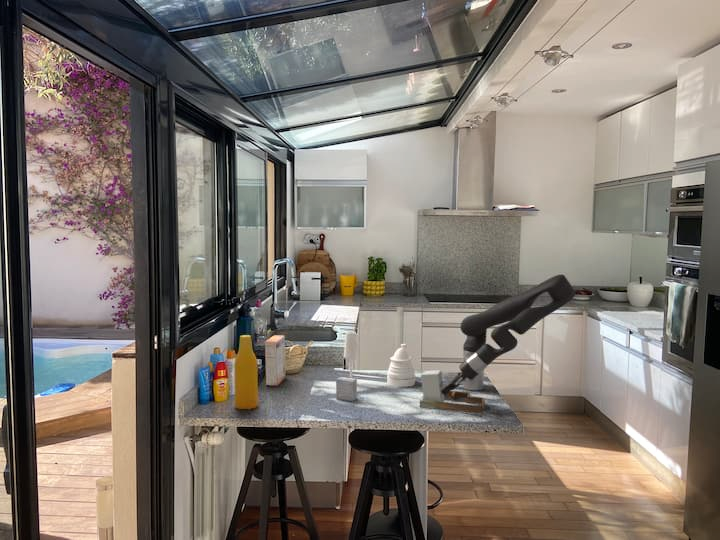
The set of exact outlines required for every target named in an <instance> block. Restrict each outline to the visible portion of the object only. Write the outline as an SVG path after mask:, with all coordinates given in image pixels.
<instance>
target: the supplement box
mask: <svg viewBox="0 0 720 540" xmlns="http://www.w3.org/2000/svg"><path fill="white" fill-rule="evenodd" d="M420 379H421V386H422V396H423V397H424V401H435V402H445V400H444V399H445V398H444V394H443V393H442V392H441V391H442V390H443V389H444V383H443V382H444V380H443V372H442V369H440V370H437V369H436V370H434V369H433V370H425V371H423V372H422V374H421V375H420Z"/></svg>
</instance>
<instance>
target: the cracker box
mask: <svg viewBox="0 0 720 540" xmlns="http://www.w3.org/2000/svg"><path fill="white" fill-rule="evenodd" d="M285 339H286V337H285V335H277V334H276V335H273V336H271V337H270V338H268V339H266V340H265V341H264V349H265V353H264V354H265V355H264V356H265V357H264V358H265V385H266V386H267V385H269V386H274V387H277V386H279V385H280V384H281V383H282V382H283V381H284V380H285V379H286V344H285V343H286V342H285Z"/></svg>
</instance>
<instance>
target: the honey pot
mask: <svg viewBox="0 0 720 540" xmlns="http://www.w3.org/2000/svg"><path fill="white" fill-rule="evenodd" d="M406 346H407V344H406V343H401V344H400V347H399V348H397V350H396V351H395V352H394V354H393V356H391V357H390V361H391V362H390V363H389V367H388V370H387V371H386V373H387V375H386V376H387V377H386V383H387V385H389V386H391V385H392V386H391V387H395V386H397V387H396V388H408V386H409V387H413V386H414V385H415V384H416V379H415V378H416V372H415V370H414V366H413V364H412V363H413V362H412V357H411V356H409V354H408V352H407V351H406V349H405V348H406ZM412 385H413V386H412Z"/></svg>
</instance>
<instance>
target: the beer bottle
mask: <svg viewBox="0 0 720 540" xmlns="http://www.w3.org/2000/svg"><path fill="white" fill-rule="evenodd" d="M252 342H253V341H252V336H251V335H249V334H244V335H240V336H239V346H238V347H239V348H238V352H237V355H236V357H235V359H234V365H233V366H234V406H235V408H236V409H238V410H241V409H248V410H253V409H255V408H256V407H258V405H259V391H258V390H259V388H258V387H259V386H258V384H259V382H258V381H259V378H258V374H259V373H258V372H259V371H258V360H257V357H256V354H255V353H254V350H253V344H252ZM252 408H253V409H252Z"/></svg>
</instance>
